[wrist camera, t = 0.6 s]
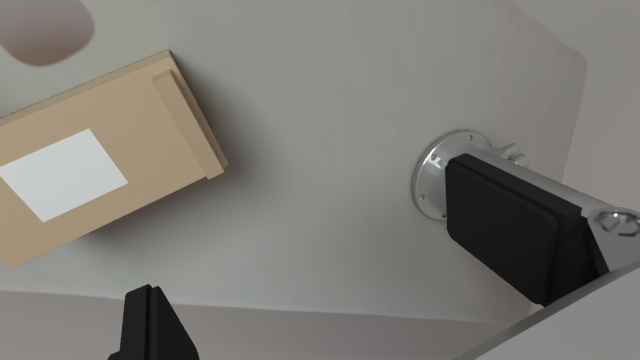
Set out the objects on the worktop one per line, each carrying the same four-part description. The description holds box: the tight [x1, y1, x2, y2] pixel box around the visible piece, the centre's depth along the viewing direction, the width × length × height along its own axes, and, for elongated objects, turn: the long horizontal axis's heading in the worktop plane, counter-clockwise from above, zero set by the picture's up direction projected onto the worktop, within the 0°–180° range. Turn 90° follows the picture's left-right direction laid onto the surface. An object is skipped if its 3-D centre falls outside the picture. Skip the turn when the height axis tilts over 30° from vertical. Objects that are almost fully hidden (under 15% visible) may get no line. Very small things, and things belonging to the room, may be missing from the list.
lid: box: [0, 55, 229, 270], centre depth 24 cm, size 16×9×3 cm, turn 110°
